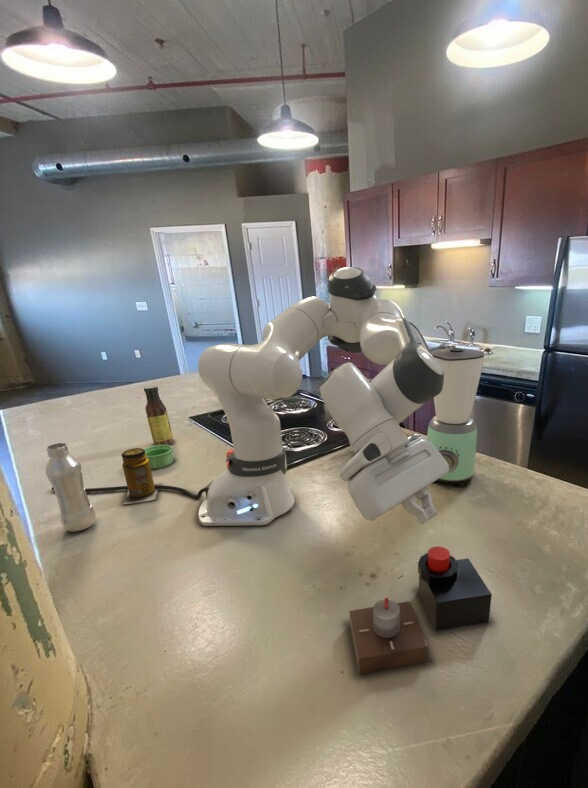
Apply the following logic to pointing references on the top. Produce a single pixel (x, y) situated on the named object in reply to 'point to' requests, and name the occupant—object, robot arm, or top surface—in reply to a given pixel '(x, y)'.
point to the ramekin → (159, 455)
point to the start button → (438, 559)
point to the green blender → (456, 412)
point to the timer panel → (387, 641)
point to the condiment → (138, 476)
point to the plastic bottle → (69, 488)
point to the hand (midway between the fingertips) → (430, 519)
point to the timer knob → (386, 618)
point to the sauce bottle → (157, 417)
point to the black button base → (454, 594)
